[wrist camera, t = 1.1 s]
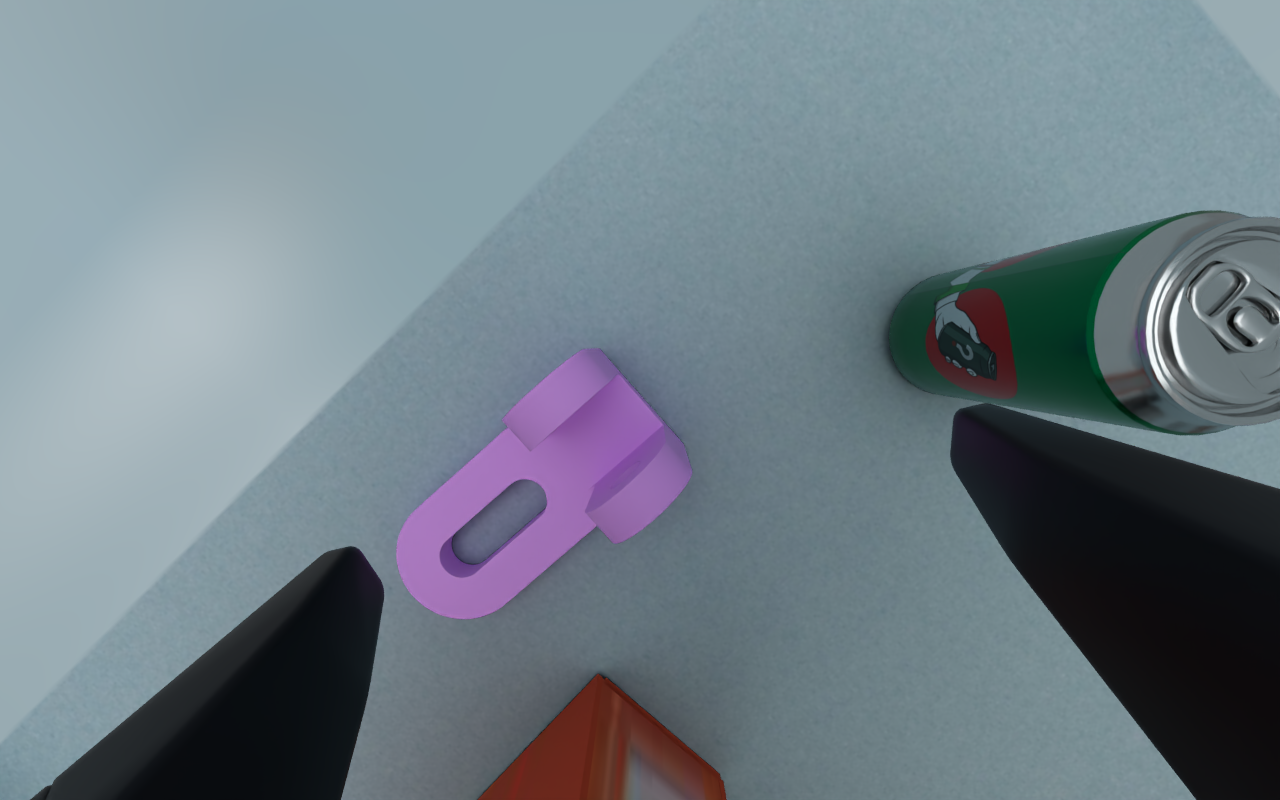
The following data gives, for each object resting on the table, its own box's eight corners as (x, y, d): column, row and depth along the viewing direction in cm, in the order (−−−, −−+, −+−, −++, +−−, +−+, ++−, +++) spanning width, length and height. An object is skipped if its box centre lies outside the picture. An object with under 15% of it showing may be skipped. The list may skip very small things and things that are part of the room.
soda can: (945, 418, 23) (1250, 492, 12) (858, 342, 23) (1076, 337, 11) (1028, 327, 23) (1434, 308, 11) (940, 249, 23) (1258, 142, 11)
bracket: (599, 348, 23) (577, 348, 17) (683, 443, 24) (696, 483, 17) (385, 538, 25) (280, 614, 18) (469, 627, 25) (398, 736, 18)
